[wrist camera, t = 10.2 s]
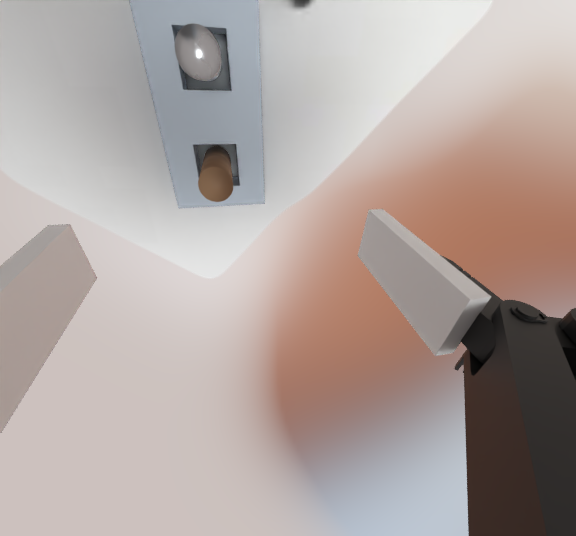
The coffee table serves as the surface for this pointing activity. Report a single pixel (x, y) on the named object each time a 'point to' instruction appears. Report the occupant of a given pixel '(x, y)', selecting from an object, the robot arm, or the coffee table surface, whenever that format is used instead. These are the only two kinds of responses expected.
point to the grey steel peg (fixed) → (198, 52)
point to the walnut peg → (216, 175)
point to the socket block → (205, 94)
